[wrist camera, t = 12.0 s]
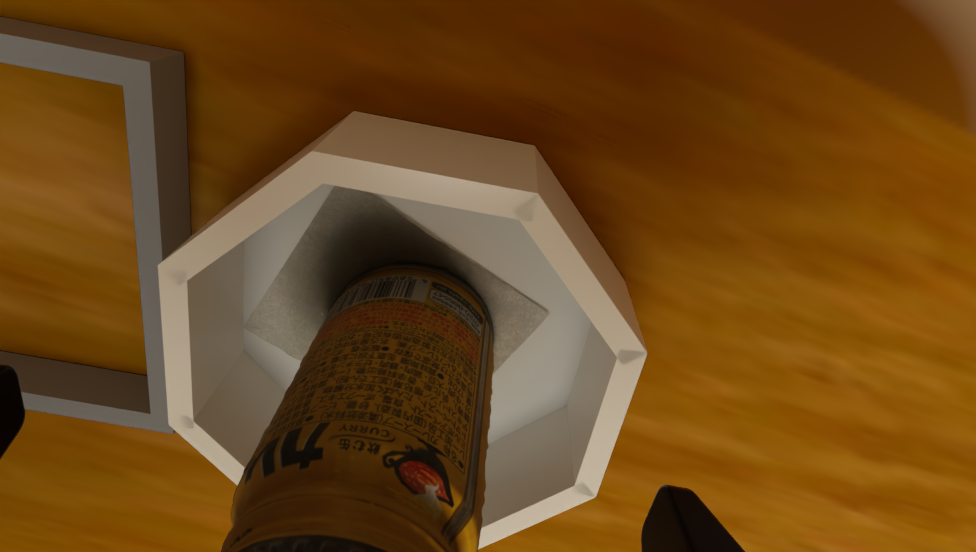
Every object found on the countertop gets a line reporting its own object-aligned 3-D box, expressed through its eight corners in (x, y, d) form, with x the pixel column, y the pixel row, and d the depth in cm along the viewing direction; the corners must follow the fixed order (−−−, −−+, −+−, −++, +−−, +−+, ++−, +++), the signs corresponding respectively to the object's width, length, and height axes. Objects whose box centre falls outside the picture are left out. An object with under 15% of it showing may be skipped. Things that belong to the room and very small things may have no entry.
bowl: (559, 484, 27) (566, 578, 23) (227, 428, 26) (174, 514, 22) (660, 169, 20) (694, 222, 16) (223, 86, 20) (147, 120, 16)
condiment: (435, 435, 25) (372, 788, 15) (244, 324, 23) (11, 640, 13) (549, 310, 22) (575, 636, 12) (343, 171, 20) (149, 412, 10)
